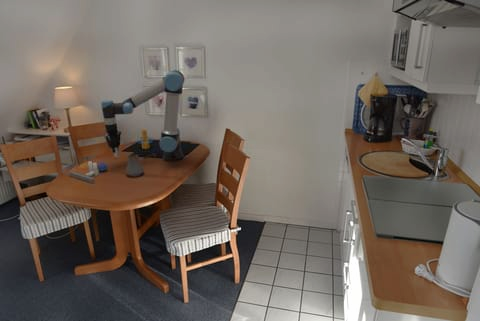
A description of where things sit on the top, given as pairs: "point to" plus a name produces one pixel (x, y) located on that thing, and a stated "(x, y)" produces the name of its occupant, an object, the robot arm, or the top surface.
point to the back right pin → (90, 166)
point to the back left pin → (95, 169)
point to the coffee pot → (135, 165)
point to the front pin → (90, 174)
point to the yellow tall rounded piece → (145, 140)
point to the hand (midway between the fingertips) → (116, 156)
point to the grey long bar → (82, 177)
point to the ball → (102, 166)
